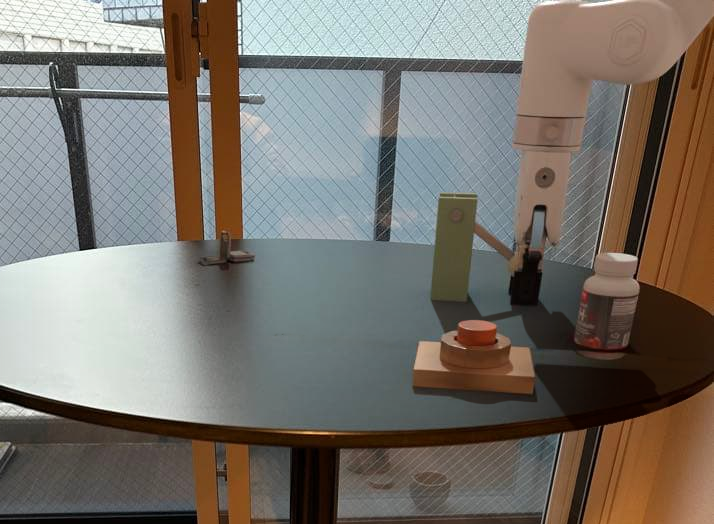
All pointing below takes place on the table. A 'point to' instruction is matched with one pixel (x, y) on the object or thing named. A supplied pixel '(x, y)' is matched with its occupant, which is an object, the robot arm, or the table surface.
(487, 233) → the lever
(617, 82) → the robot arm
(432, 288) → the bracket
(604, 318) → the pill bottle
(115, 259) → the table surface
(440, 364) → the button block
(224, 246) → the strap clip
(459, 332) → the button
